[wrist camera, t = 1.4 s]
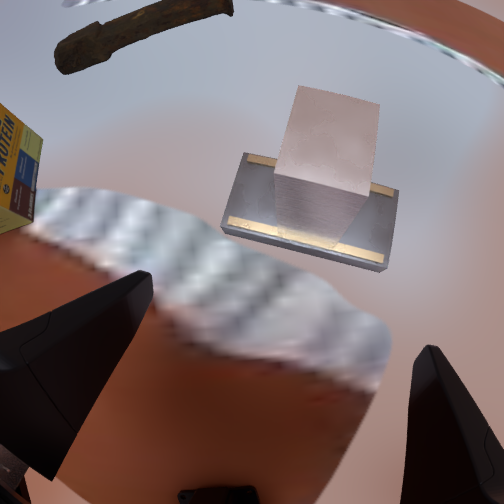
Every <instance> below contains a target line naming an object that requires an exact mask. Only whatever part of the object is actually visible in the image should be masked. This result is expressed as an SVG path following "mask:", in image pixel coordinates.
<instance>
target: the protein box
mask: <svg viewBox="0 0 504 504" xmlns="http://www.w3.org/2000/svg"><path fill="white" fill-rule="evenodd" d="M42 144H43V139H42V138H41V137H40V136H39V135H37V134H36V133H35V132H34V131H33V130H31V129H30V128H29V127H28V126H27V125H25V124H24V123H23V122H22V121H21V120H19V119H18V118H17V117H16V116H15V115H13V114H12V113H11V112H10V111H9V110H8V109H7V108H5V107H4V106H3V105H2V104H1V103H0V234H1V233H4V232H7V231H9V230H12V229H15V228H18V227H21V226H24V225H27V224H29V223H32V222H33V212H34V200H35V191H36V182H37V175H38V167H39V161H40V155H41V149H42Z"/></svg>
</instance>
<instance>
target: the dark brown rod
mask: <svg viewBox="0 0 504 504" xmlns="http://www.w3.org/2000/svg"><path fill="white" fill-rule="evenodd" d="M222 13H224V14H227V15H229V16H230V17H231V16H233V13H234V9H233V2H232V0H162V1H159V2H156V3H154V4H151V5H148V6H145V7H143V8H141V9H138V10H136V11H133V12H131V13H128V14H126V15H123V16H121V17H118V18H116V19H113V20H112V21H109V22H106V23H105V24H104V25H101V24H100V23H99V22H98V21H96V22H94V23H92V24H89V25H88V26H86V27H85V28H83V29H81V30H78V31H76V32H75V33H72V34H70V35H69V36H68V37H66V38H65V39H63V40H62V41H60V42H59V43H58V44H57V47H56V49H55V51H54V58H55V65H56V67H57V69H58V70H59V71H60V72H61V73H62V74H63V75H66V74H68V75H69V74H72V73H74V72H78V71H81V70H84V69H86V68H88V67H91V66H93V65H96V64H99V63H101V62H105V61H107V60H108V59H109V58H110V57H111V55H112V53H113V52H115V51H117V50H118V49H120V48H123V47H125V46H127V45H129V44H132V43H135V42H137V41H139V40H143V39H146V38H148V37H149V36H151V35H154V34H157V33H160V32H163V31H166V30H168V29H171V28H175V27H178V26H181V25H184V24H187V23H190V22H193V21H197V20H201V19H205V18H208V17H211V16H214V15H218V14H222Z"/></svg>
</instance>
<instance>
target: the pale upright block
mask: <svg viewBox="0 0 504 504" xmlns="http://www.w3.org/2000/svg"><path fill="white" fill-rule="evenodd" d="M379 108H380V105H379V104H375V103H371V102H368V101H365V100H361V99H357V98H353V97H350V96H346V95H341V94H337V93H333V92H329V91H323V90H319V89H315V88H310V87H304V86H298V89H297V92H296V96H295V99H294V103H293V107H292V110H291V114H290V117H289V121H288V125H287V128H286V131H285V135H284V139H283V142H282V145H281V149H280V152H279V156H278V160H277V163H276V167H275V170H274V184H275V199H276V214H277V229H278V232H281V233H285V234H289V235H293V236H297V237H301V238H305V239H309V240H313V241H317V242H321V243H325V244H329V245H333V246H336V244H337V243H338V242H339V240H340V239H341V237H342V236H343V234H344V233H345V231H346V230H347V228H348V227H349V225H350V224H351V222H352V221H353V220H354V218H355V217H356V215H357V214H358V212H359V211H360V209H361V207H362V206H363V204H364V203H365V201H366V200H367V198H368V197H369V191H370V185H371V178H372V171H373V163H374V155H375V147H376V139H377V129H378V119H379Z"/></svg>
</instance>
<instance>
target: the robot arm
mask: <svg viewBox="0 0 504 504" xmlns="http://www.w3.org/2000/svg"><path fill="white" fill-rule="evenodd" d="M152 298H153V281H152V275H151V274H150V273H149V272H145V271H142V270H138V271H136V272H134V273H131V274H129V275H127V276H125V277H123V278H120V279H118V280H116V281H114V282H112V283H110V284H107V285H105V286H103V287H101V288H99V289H97V290H94V291H92V292H90V293H88V294H86V295H84V296H81V297H79V298H77V299H75V300H73V301H71V302H69V303H67V304H64V305H62V306H60V307H58V308H56V309H54V310H52V312H51V311H50V312H48V313H45V314H43V315H41V316H39V317H37V318H35V319H32V320H30V321H28V322H25V323H23V324H21V325H18V326H16V327H13V328H10V329H8V330H5V331H2V332H0V504H31V500H30V497H29V493H28V489H27V485H26V481H25V477H24V475H25V473H26V471H27V469H28V468H29V467H31V468H32V469H34V470H35V471H37V472H38V473H39V474H41V475H42V476H44V477H45V478H47V479H48V480H50V481H53V479H54V477H55V475H56V474H57V472H58V470H59V468H60V466H61V464H62V462H63V460H64V458H65V456H66V454H67V452H68V451H69V449H70V447H71V445H72V443H73V441H74V439H75V438H76V436H77V433H78V432H79V430H80V428H81V426H82V425H83V423H84V421H85V419H86V417H87V416H88V414H89V412H90V410H91V409H92V407H93V405H94V403H95V402H96V400H97V398H98V396H99V395H100V393H101V391H102V389H103V388H104V386H105V384H106V383H107V381H108V379H109V377H110V376H111V374H112V372H113V371H114V369H115V367H116V366H117V364H118V362H119V361H120V359H121V357H122V356H123V354H124V352H125V351H126V349H127V347H128V346H129V344H130V343H131V341H132V339H133V337H134V336H135V334H136V332H137V330H138V328H139V325H140V323H141V321H142V319H143V317H144V315H145V313H146V311H147V309H148V307H149V304H150V302H151V300H152ZM247 491H252V493H248V492H247ZM182 495H184V496H186V497H183V496H182ZM177 496H178V500H179V502H180V504H260V501H259V498H258V494H257V491H256V489H255V488H254V487H252V486H244V487H235V488H227V487H219V488H203V489H197V490H185V491H180V492H179V493H178V495H177ZM400 504H504V449H503V448H502V446H501V445H500V443H499V441H498V440H497V438H496V436H495V434H494V433H493V431H492V429H491V428H490V426H489V425H488V423H487V421H486V419H485V417H484V416H483V414H482V413H481V411H480V409H479V408H478V406H477V404H476V403H475V401H474V400H473V398H472V396H471V395H470V393H469V392H468V390H467V388H466V387H465V385H464V384H463V383H462V381H461V379H460V378H459V376H458V375H457V373H456V372H455V370H454V369H453V367H452V366H451V365H450V363H449V361H448V360H447V358H446V357H445V356H444V354H443V353H442V351H441V350H440V348H439V347H438V346H434V345H426V346H425V347H424V348H423V350H422V351H421V353H420V354H419V355H418V357H417V358H416V360H415V361H414V364H413V371H412V381H411V389H410V398H409V406H408V427H407V444H406V456H405V467H404V476H403V485H402V493H401V500H400Z"/></svg>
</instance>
